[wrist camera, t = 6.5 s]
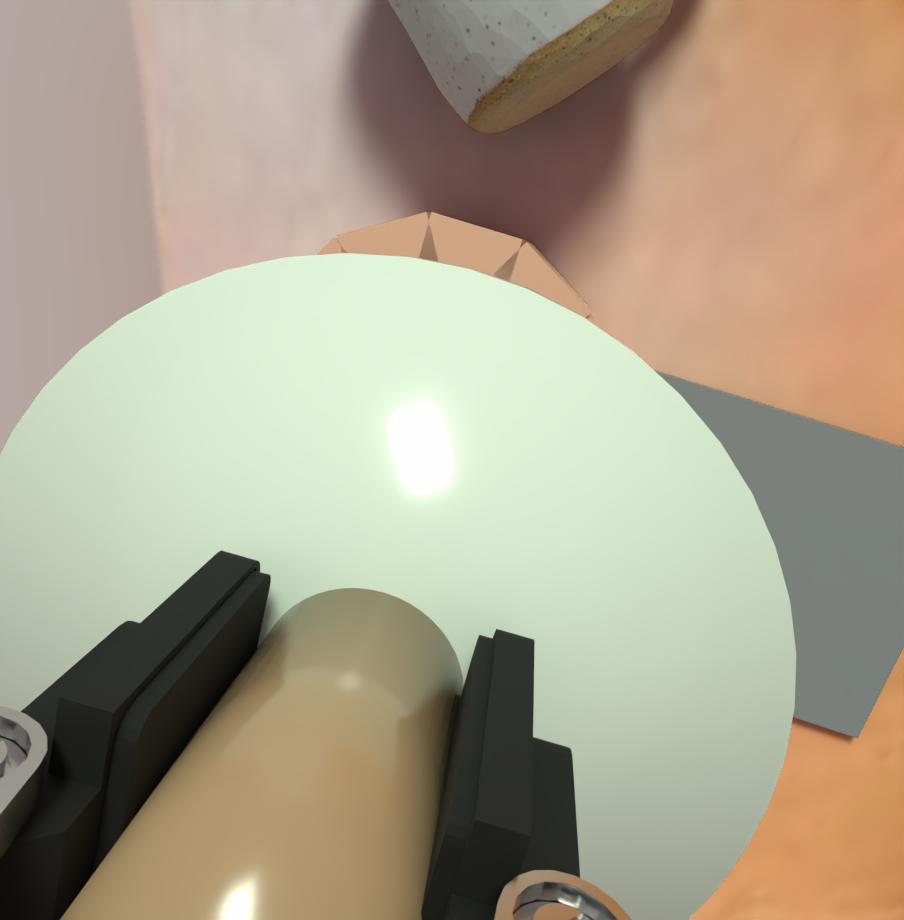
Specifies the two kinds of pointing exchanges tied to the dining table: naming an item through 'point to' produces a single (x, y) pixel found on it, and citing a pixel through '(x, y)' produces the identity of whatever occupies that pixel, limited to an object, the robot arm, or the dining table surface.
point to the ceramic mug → (522, 50)
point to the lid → (400, 582)
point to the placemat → (824, 544)
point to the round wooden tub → (463, 252)
